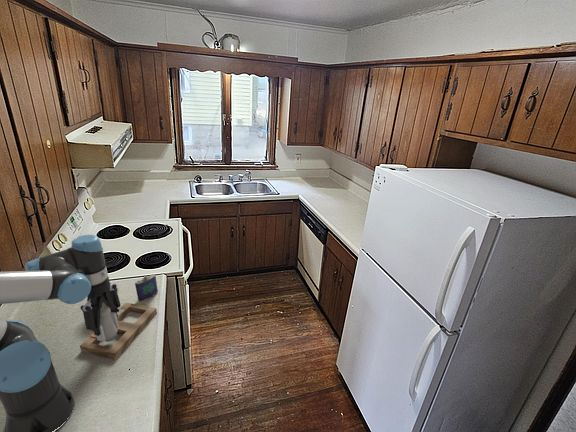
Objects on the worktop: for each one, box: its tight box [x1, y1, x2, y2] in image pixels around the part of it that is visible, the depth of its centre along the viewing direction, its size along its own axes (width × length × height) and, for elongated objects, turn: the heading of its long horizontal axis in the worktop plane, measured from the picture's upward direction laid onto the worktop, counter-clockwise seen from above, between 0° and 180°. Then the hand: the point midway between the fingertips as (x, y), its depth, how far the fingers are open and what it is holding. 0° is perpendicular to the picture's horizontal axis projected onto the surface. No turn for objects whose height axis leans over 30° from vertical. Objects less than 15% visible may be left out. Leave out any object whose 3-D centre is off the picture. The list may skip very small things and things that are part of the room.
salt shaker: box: [100, 306, 118, 343], centre depth 108 cm, size 6×6×13 cm
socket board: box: [79, 302, 158, 359], centre depth 116 cm, size 24×14×3 cm, turn 169°
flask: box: [134, 274, 159, 302], centre depth 134 cm, size 9×3×11 cm, turn 144°
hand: (108, 333), depth 110 cm, fingers open, 6 cm apart
